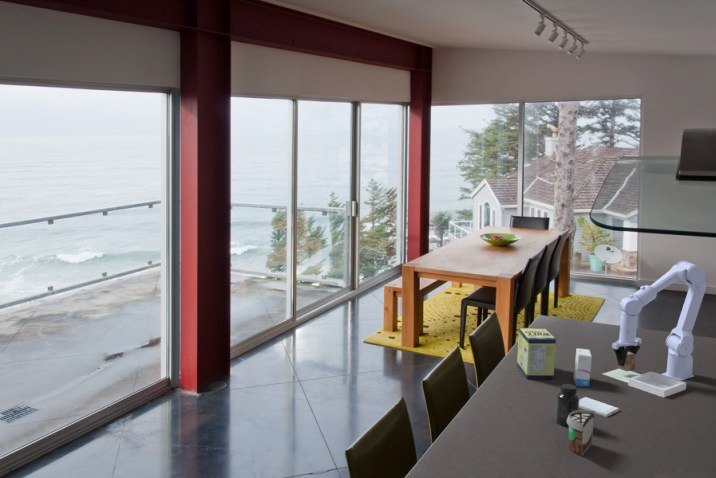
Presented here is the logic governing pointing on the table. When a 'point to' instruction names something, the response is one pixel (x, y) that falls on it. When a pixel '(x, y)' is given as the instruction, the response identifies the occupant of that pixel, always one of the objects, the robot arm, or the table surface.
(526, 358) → the protein box
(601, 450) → the table surface
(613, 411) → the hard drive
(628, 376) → the sage pad
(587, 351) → the ink box
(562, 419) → the supplement bottle
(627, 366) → the walnut block
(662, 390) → the grey bin
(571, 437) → the food container
